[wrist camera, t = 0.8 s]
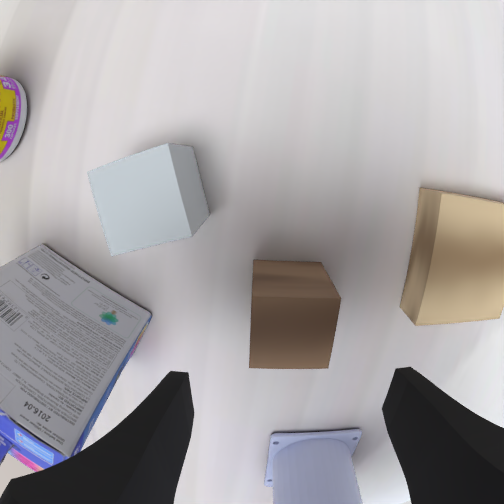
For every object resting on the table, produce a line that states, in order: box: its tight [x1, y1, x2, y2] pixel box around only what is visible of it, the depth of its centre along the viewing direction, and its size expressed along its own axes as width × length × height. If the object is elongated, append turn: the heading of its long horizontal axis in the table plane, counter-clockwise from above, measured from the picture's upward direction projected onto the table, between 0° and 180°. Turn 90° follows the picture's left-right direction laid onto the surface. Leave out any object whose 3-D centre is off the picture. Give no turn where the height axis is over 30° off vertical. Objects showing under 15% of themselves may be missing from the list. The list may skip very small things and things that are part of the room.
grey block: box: [87, 143, 210, 256], centre depth 15 cm, size 4×4×5 cm
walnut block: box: [249, 260, 341, 369], centre depth 16 cm, size 4×4×5 cm
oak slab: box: [400, 188, 504, 326], centre depth 17 cm, size 8×8×3 cm
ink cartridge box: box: [0, 245, 152, 472], centre depth 13 cm, size 10×6×14 cm, turn 60°
